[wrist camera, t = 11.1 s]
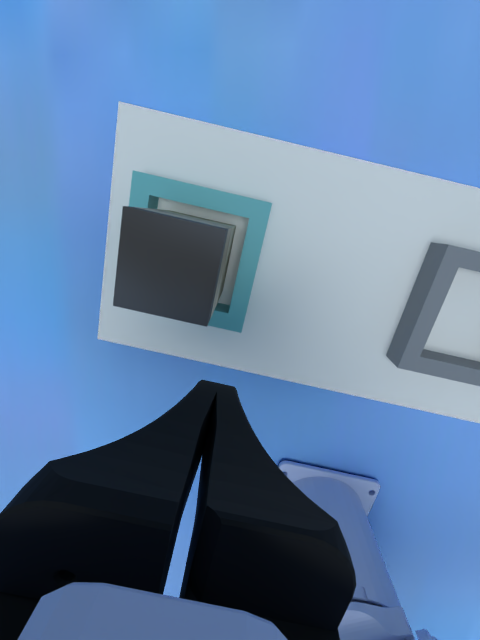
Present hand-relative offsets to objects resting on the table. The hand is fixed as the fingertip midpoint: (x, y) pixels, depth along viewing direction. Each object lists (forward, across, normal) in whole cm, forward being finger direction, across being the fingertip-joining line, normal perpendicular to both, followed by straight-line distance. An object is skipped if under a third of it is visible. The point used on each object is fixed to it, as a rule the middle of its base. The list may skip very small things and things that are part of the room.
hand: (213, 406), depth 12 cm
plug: (+9, +3, -4) cm, 11 cm away
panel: (+10, -6, -4) cm, 13 cm away
